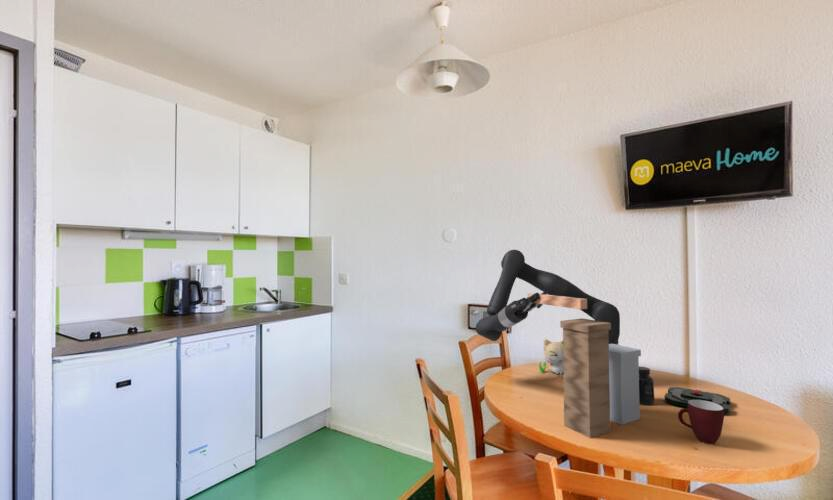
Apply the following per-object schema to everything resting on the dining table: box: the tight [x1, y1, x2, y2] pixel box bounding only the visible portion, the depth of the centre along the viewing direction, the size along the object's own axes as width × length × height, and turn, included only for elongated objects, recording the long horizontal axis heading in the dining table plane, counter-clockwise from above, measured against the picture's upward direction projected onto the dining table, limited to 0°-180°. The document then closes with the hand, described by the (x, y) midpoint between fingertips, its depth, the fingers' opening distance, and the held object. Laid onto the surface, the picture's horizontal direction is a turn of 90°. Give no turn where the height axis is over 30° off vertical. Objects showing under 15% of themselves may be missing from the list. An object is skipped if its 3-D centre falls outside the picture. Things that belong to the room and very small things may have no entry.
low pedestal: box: [609, 344, 642, 426], centre depth 122 cm, size 10×10×22 cm
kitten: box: [538, 338, 564, 375], centre depth 170 cm, size 15×10×15 cm, turn 90°
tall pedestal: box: [559, 318, 611, 439], centre depth 114 cm, size 10×10×32 cm
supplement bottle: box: [639, 366, 655, 406], centre depth 135 cm, size 7×7×12 cm
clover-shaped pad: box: [663, 386, 731, 414], centre depth 133 cm, size 18×18×5 cm
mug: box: [677, 400, 725, 445], centre depth 106 cm, size 10×8×10 cm
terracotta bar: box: [527, 292, 587, 310], centre depth 125 cm, size 22×3×3 cm, turn 28°
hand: (542, 294), depth 130 cm, fingers closed on terracotta bar, 3 cm apart
